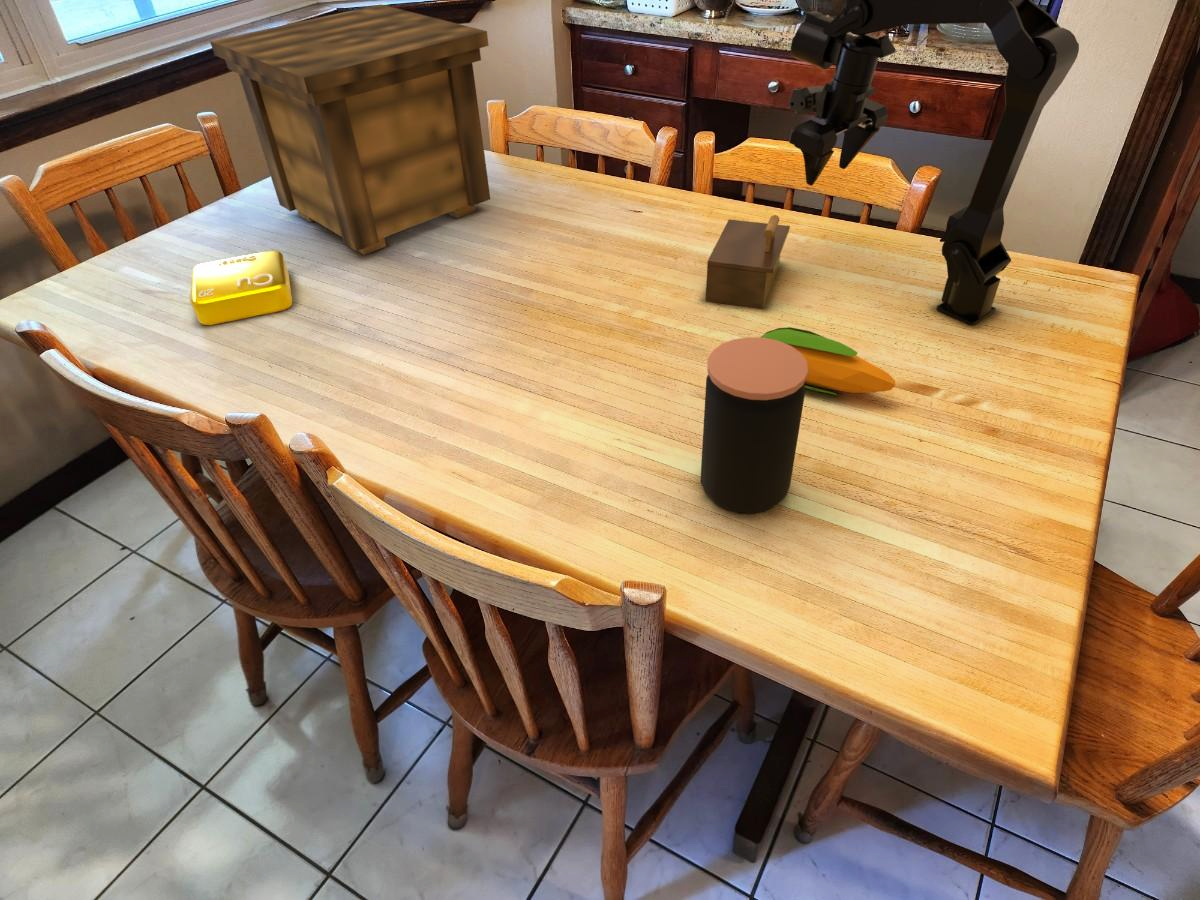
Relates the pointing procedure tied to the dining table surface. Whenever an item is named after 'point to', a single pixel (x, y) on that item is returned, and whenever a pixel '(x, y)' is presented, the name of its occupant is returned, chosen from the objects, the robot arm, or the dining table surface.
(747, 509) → the coffee jar
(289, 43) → the crate
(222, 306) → the element tile
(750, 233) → the brown box lid
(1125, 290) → the dining table surface
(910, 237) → the dining table surface
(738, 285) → the brown wooden box
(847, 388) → the corn
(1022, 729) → the dining table surface
